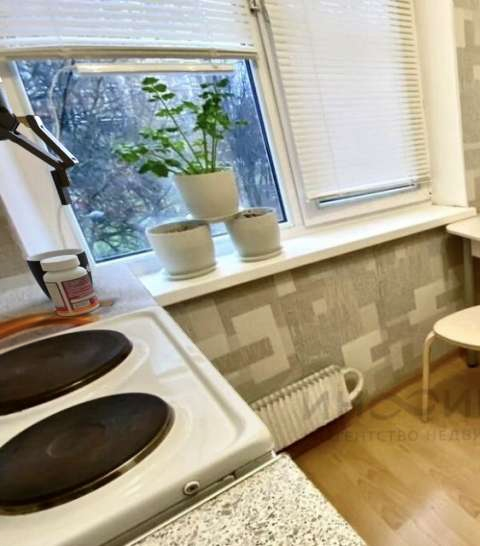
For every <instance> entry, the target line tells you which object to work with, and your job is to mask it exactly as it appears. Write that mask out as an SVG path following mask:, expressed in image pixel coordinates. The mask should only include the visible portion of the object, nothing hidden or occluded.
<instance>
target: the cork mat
mask: <svg viewBox="0 0 480 546" xmlns="http://www.w3.org/2000/svg"><path fill="white" fill-rule="evenodd" d="M98 302H99V307H98V308H97V309H100V308H106V307H112V306H113V305H114V303H115V300H114V299H110V300H109V299H108V300H102V301H98ZM57 315H59V314H58V312H57V310H56V309H55V310H54V311H53V312H52V313H51V314H49V317H52V316H57Z"/></svg>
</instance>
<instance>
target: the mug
mask: <svg viewBox="0 0 480 546" xmlns="http://www.w3.org/2000/svg"><path fill="white" fill-rule="evenodd" d="M63 255H76V256H77V257H78V260H79V262H80V265H78V267H82V268H84V269H86V271H87V273H88V276H89V279H90V281H91V284H92V286H93V287H94V282H93V276H92V275H93V274H92V270H91V266H90V262H89V260H88V259H89V258H88V255H87V253H86V250H85V249H83V248H62V249H55V250H49V251H45V252H40V253H35V254H32V255H29V256H27V257H26V259H25V262H26V264H27V266H28V268H29V271H30V272H31V274H32V276H33V277H34V279H35V281H36V283H37V285H38V286H39V288H40V290H41V291H42V292H43V293H44V295H45V296H46V297H47V298H48V299H49V300H51V301H52V298H51V296H50V294H49V291H48V289H47V287H46V284H45V282H44V279H43V276H44V275H45V274H46V273H47V272H48V271H43V269H42V266H41V264H40V261H42V260H44V259H47V258H51V257H56V256H63Z"/></svg>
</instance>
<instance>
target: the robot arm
mask: <svg viewBox="0 0 480 546" xmlns="http://www.w3.org/2000/svg"><path fill="white" fill-rule="evenodd" d="M1 83H3V81H2V78H1V77H0V84H1ZM20 124H22V125H24V126H25V127H26V128H28V129H31V131H32V132H33V133H34V134H35V135H36V136H37V137H38V138H39V139H40V140H41V141H42V142H43V143H44V144H45V145H46V146H47V147H48V148H49V149H50V150H51V151H52V152H53V153H54V154H55V155H56V156H57V157H56V156H55V155H53V154H52V153H50V152H49V151H47V150H46V149H45V148H43V147H42V146H40V145H39V144H36V143H35V142H34V141H32V140H31V139H29V137H27V136H26V135H25V134H24V133H22V132H20V131H19V130H17V129H18V127H20ZM3 141H4V142H5V141H10V142H12V143H15V144H16V145H18V146H19V147H21V148H22V149H24V150H25V151H27V152H28V153H30V154H32V155H33V156H34V157H37V158H38V159H39V160H41V161H42V162H44V163H46V164H47V165H48V166H50V167H52V168H53V169H52V170H49V172H50V175H51V178H52V181H53V183H54V187H55V190H56V192H57V195H58V198H59V201H60V204H61V206H69V205H71V204H73V201H72V198H71V195H70V192H69V189H68V188H70V187H72V186H73V180H72V178H71V175H70V172H69V169H70V168H73V167H75V166H79V164H80V161H79V160H78V159H77V158H76V157H75V156H74V155H73V154H72V153H71V152H70V151H69V150H68V148H66V147H65V146H64V145H63V144H62V143H61V142H60V140H58V139H57V138H56V137H55V136H54V135H53V134H52V133H51V132H50V130H48V129H47V128H46V127H45V125H44V122H43V121H42V119H41V117H40V116H39V115H37V114H26V115H21V116H19V115H18V116H17V115H16V114H15V113H14V111H13V109H12V105H11V103H10V100H9V97H8V95H7V91H6V89H5V88H3V87H2V86H0V142H3Z"/></svg>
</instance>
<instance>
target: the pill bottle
mask: <svg viewBox="0 0 480 546" xmlns="http://www.w3.org/2000/svg"><path fill="white" fill-rule="evenodd" d="M40 264H41V266H42V269H43V271H48V272H47V273H46V274H45V275H44V276H43V279H44V282H45V284H46V287H47V289H48V291H49V294H50V296H51V298H52V300H51V301H52V303H53V306H54V308H55V310H57V312H58V315H59V316H61V317H73V316H74V317H75V316H79V315H84V314H88V313H89V312H92V311H94V310H96V309H99V308H98V307H99V302H100V301H99V299H98V297H97V294H96V291H95V288H94V285H93V286H92V284H91V281H90V279H89V276H88V273H87V271H86V269H84V268H82V267H78V265H80V262H79V260H78V257H77V256H76V255H63V256H56V257H51V258H47V259H44V260H42V261H40Z"/></svg>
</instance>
